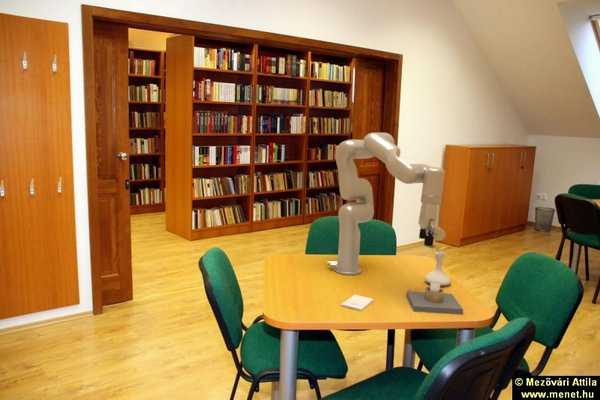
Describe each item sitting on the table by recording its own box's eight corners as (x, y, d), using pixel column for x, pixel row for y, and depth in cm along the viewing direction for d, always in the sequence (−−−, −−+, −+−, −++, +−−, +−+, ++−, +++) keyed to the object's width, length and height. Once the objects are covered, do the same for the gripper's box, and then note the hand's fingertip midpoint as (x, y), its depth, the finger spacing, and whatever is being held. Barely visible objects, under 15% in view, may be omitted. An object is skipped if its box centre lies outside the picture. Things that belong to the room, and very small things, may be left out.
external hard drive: (373, 302, 190) (360, 313, 179) (354, 298, 194) (340, 307, 183) (373, 298, 189) (361, 308, 179) (354, 294, 193) (340, 303, 183)
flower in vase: (455, 284, 214) (461, 228, 210) (443, 290, 206) (449, 232, 202) (428, 276, 223) (433, 223, 219) (415, 281, 215) (420, 226, 210)
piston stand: (413, 311, 182) (415, 289, 180) (406, 295, 197) (408, 275, 196) (462, 314, 181) (465, 292, 180) (451, 298, 197) (453, 278, 195)
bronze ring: (426, 302, 186) (427, 292, 185) (422, 295, 192) (423, 286, 192) (444, 303, 185) (445, 293, 185) (440, 296, 192) (441, 287, 191)
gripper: (417, 194, 197) (412, 235, 200) (425, 203, 180) (420, 247, 183) (435, 195, 196) (430, 236, 200) (446, 204, 179) (440, 249, 183)
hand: (425, 242), depth 191 cm, fingers open, 9 cm apart
